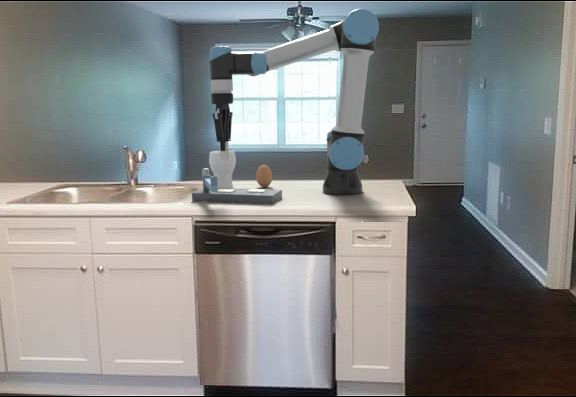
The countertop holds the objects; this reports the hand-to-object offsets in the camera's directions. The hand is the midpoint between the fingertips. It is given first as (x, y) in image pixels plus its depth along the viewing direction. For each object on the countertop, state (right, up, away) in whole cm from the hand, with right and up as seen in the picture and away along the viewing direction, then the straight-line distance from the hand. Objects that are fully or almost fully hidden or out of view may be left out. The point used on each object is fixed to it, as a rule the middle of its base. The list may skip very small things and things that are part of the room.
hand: (224, 159), depth 200 cm
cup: (-3, -10, +26) cm, 28 cm away
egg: (+13, -9, +29) cm, 33 cm away
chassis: (+4, -14, +2) cm, 15 cm away
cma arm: (-4, -11, -7) cm, 13 cm away
